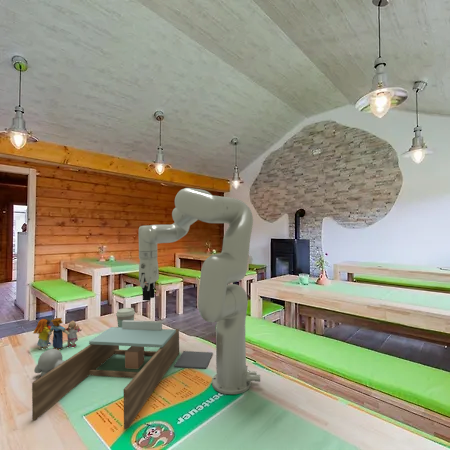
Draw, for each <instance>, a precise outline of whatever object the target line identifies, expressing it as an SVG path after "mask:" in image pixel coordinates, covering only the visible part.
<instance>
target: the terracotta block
mask: <svg viewBox="0 0 450 450" xmlns="http://www.w3.org/2000/svg"><path fill="white" fill-rule="evenodd" d="M125 350H126V351H125V355H124V366H125V367H124V368H125V369H133V370H135V369H136V370H139V369H140V368H141V367H142V366H143V364H144V363H145V356H144V351H145V347H138V346H129V348H127V349H125Z"/></svg>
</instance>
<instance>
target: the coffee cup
mask: <svg viewBox="0 0 450 450" xmlns="http://www.w3.org/2000/svg"><path fill="white" fill-rule="evenodd" d="M135 315H136V312H135V309H134V308H133V307H124V308H123V307H122V308H120V309H117V311H116V312H115V316H116V319H117V320H116V321H117V327H119V328H122V321H123V320H134V321H135Z"/></svg>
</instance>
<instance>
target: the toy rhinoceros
mask: <svg viewBox="0 0 450 450" xmlns="http://www.w3.org/2000/svg"><path fill="white" fill-rule="evenodd" d="M64 361H65V360H63V354H62V352H61V351H60V350H57V349H53V348H50V349H49V348H48V349H46V350H44V352H42V353H41V355H39V358H38V361H37V364H36V365H35V367H34V373H35V374H40V377H42V376H43V375H45V374H46V373H48V372H49V371H51V370H52V369H54V368H55V367H57V366H58V365H60V364H61V363H63V362H64Z"/></svg>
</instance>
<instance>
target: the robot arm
mask: <svg viewBox="0 0 450 450" xmlns="http://www.w3.org/2000/svg"><path fill="white" fill-rule="evenodd" d="M174 206H175V207H174V208H173V210H172V212H171V217H172V220H173V221H174V222H173V223H172V224H150V225H140V226H139V228H138V260H139V264H138V282H139V286H140V287H141V291H142V301H144V302H145V301H148V302H149V301H151V299H155V297H156V295H155V294H156V293H155V290H156V282H157V281H158V280H159V278H160V274H159V273H160V271H159V262H158V244H169V243H172V244H173V243H175V242H177V241H179V240H181V239H182V238H183V237H185V236H186V235H187V234H188V232H189V230H190V227H191V225H193V224H194V223H195V222H197V221H201V222H203V223H207V224H228V227H227V229H226V231H225V233H224V235H223V239H222V248H221V251H220V253H216V254H215V253H214V254H211V255H210V256H208V257H207V258H206V259H205V260H204V261H203V263H202V266H201V270H200V276H199V277H200V278H199V288H198V298H197V308H198V313H199V314H200V316H201V318H202V319H203V320H204V321H205V322H207V323H210V324H211V323H213V324H214V323H216V325H215V351H216V352H215V354H216V355H215V356H216V357H215V361H216V363H215V364H216V367H215V368H216V373H215V374H214V376H213V377H212V379H211V386H212V388H213V389H214V390H215V391H216V392H219V393H221V394H223V395H238V394H242V393H244V392H246V391H248V390H249V389H250V388H251V386H252V382H257V383H258V382H261V374H258V372H257V371H255V370H254V371H253V370H252V371H251V370H249V369H248V365H247V361H246V360H247V358H246V352H247V351H246V347H247V346H246V319H247V311H248V305H249V304H248V302H249V300H248V298H249V297H248V295H247V291H246V290H245V289H244V288H243V286H241V285H239V284H235V283H237V282H240V281H242V280H243V279H244V278H245V277H246V274H247V272H248V262H249V254H250V243H251V236H252V231H253V227H254V226H253V225H254V219H253V218H254V217H253V216H254V215H253V212H252V210H251V208H250V207H249V206H248V204H247V203H246V202H244V201H242V200H240V199H238V198H235V197H229V196H219V195H213V194H212V193H211V192H209V191H207V190H204V189H199V188H192V187H185V188H182V189H180V190H179V191H178V192H177V194H176V195H175V198H174Z"/></svg>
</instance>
